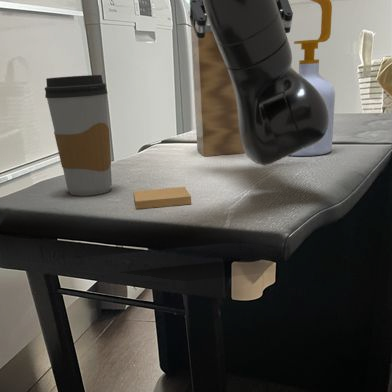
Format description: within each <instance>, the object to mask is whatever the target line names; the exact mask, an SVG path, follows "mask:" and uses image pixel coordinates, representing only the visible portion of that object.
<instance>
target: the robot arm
mask: <svg viewBox="0 0 392 392" xmlns="http://www.w3.org/2000/svg"><path fill="white" fill-rule="evenodd" d="M291 7H292V6H291V5H290V1H289V0H189V20H190V24H191V23H192V26H193V28H194V30H195V33H196V35H197V37H198V38H204V37H205V32H210V31H212V32H213V34H214V37H215V40H216V42H217V45H218V47H219V50H220V52H221V55H222V57H223V60H224V62H225V64H226V67H227V69H228V72H229V75H230V78H231V81H232V84H233V88H234V91H235V96H236V102H237V109H238V120H239V131H240V138H241V143H242V146H243V149H244V151H245V153H244V154H245V155H246V156H247V157H248V159H249V160H251V161H252V162H253V163H255V164H257V165H261V166H267V165H271V164H274V163H276V162H278V161H281V160H282V159H284V158H286V157H289V155H291V154H294V153H296V152H298V151H300V150H302V149H303V148H304V149H305V148H307V147H309V146H311V145H313V144H315V143H317V142H319V141H320V140H321V139H322V138H323V137H324V135H325V133H326V131H327V129H328V125H329V113H328V109H327V106H326V103H325V101H324V99H323V98H322V96H321V95H320V93H319V92H318V91H317V89H316V88H315V87H314V86H313V85H312V84H311V83H309V82H308V81H307V80H306V79H305V78H303V77H302V76H300V75H299V72H297V71H296V70H295V69H294V68H293V66H292V62H293V53H292V48H291V45H290V42H289V38H288V36H287V34H290V32H291V28H292V22H293V15H294V12H293V10H292V8H291Z"/></svg>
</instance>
